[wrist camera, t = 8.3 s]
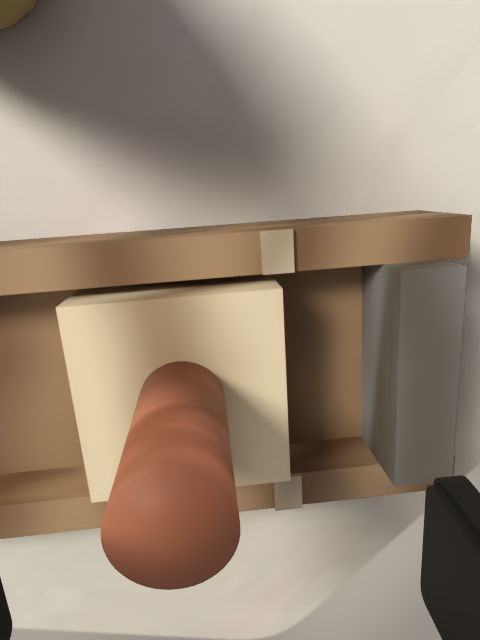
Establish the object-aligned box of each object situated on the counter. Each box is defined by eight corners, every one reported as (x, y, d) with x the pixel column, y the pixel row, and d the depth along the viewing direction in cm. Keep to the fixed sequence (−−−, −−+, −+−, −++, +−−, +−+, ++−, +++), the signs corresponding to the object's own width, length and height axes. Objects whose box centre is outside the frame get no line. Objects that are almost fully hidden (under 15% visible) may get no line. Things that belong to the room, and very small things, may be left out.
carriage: (269, 273, 20) (340, 355, 10) (277, 439, 22) (341, 643, 12) (78, 288, 19) (-49, 392, 9) (106, 457, 21) (27, 685, 11)
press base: (418, 210, 22) (498, 217, 16) (409, 436, 25) (472, 510, 19) (-162, 253, 20) (-308, 278, 14) (-89, 490, 23) (-184, 588, 17)
